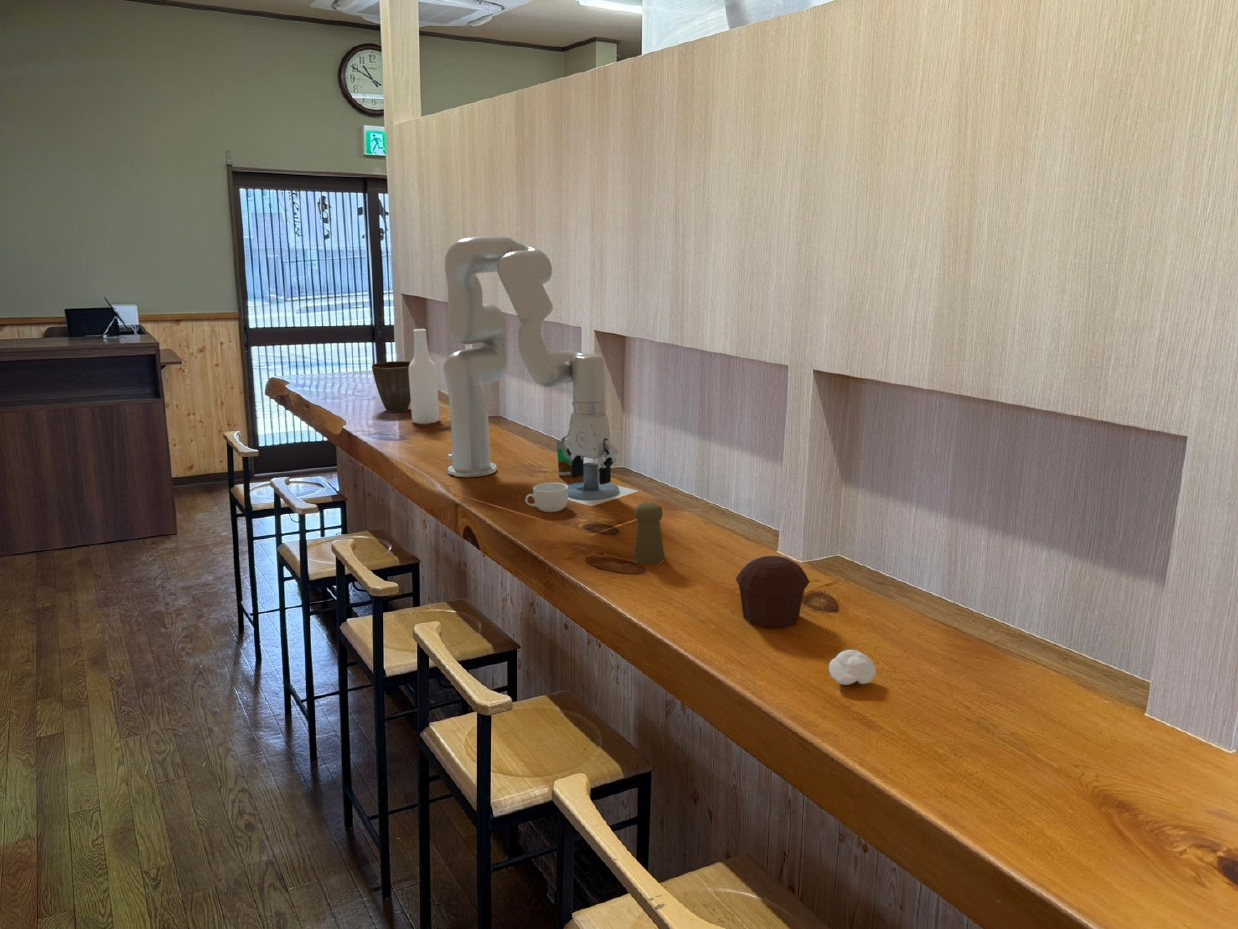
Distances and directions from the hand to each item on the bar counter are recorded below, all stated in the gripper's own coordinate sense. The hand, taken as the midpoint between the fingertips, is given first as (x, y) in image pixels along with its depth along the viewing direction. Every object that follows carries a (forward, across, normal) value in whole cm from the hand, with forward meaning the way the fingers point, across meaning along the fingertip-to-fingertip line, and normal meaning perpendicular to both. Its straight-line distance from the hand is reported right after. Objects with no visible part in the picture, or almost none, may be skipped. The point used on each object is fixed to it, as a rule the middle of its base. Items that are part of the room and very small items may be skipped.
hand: (591, 479), depth 223 cm
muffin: (+4, +73, -31) cm, 79 cm away
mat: (+3, 0, 0) cm, 3 cm away
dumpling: (+4, +94, -42) cm, 103 cm away
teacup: (+4, +2, -16) cm, 17 cm away
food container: (+4, -16, +10) cm, 19 cm away
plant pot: (+3, -124, +28) cm, 127 cm away
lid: (+3, 0, 0) cm, 3 cm away
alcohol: (+3, -100, +23) cm, 103 cm away
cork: (+4, +40, -24) cm, 47 cm away
